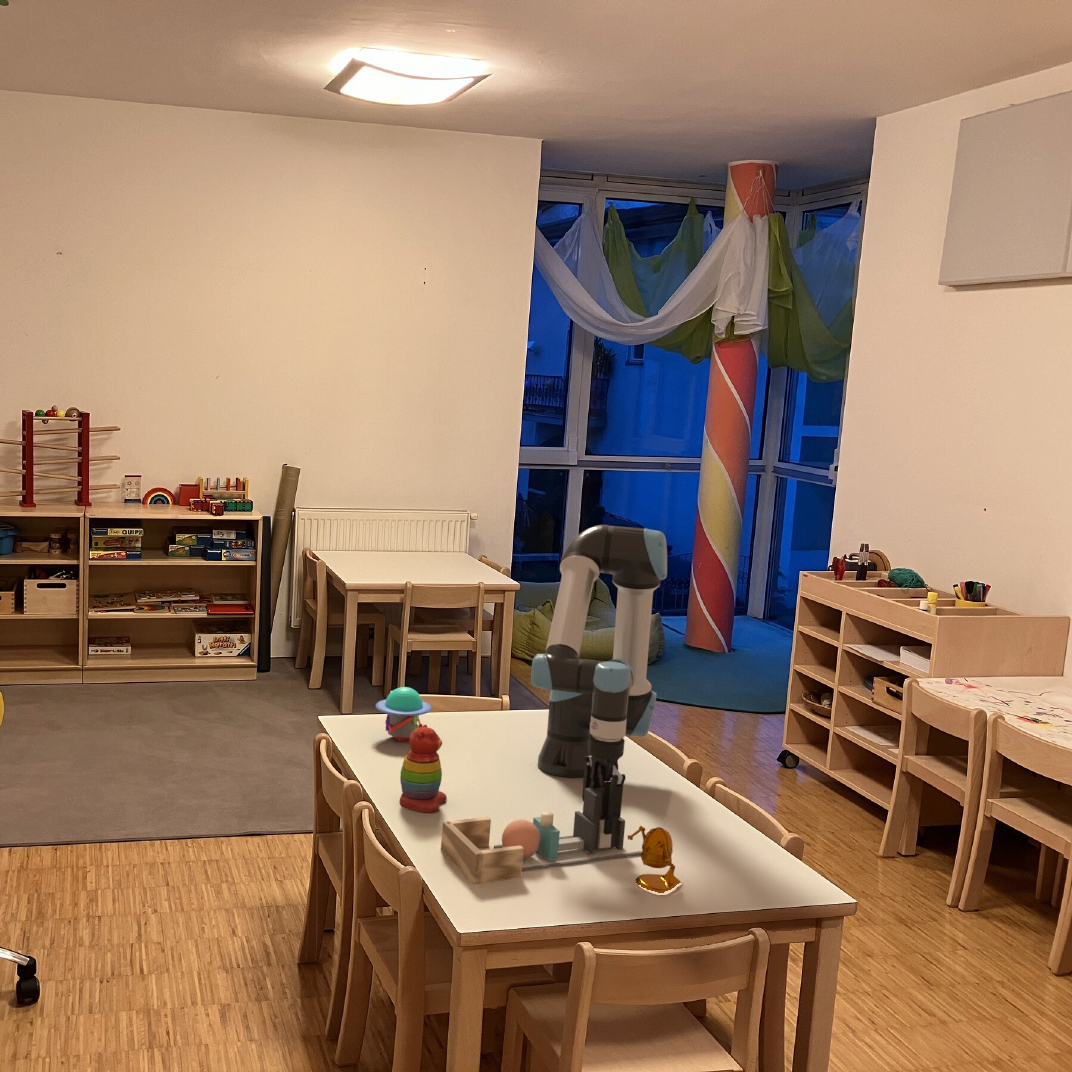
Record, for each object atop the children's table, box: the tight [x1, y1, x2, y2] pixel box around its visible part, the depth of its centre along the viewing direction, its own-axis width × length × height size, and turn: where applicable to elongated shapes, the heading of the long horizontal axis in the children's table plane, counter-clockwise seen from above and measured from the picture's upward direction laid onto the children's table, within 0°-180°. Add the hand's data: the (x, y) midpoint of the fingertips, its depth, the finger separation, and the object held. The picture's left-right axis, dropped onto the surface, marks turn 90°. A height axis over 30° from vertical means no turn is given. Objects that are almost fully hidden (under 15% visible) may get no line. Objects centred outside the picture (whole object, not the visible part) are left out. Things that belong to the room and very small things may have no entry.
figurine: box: [627, 825, 682, 893], centre depth 227 cm, size 8×11×12 cm
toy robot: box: [375, 686, 433, 742], centre depth 307 cm, size 15×15×14 cm
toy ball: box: [501, 819, 540, 860], centre depth 236 cm, size 8×8×8 cm
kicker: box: [532, 787, 626, 861], centre depth 242 cm, size 20×8×12 cm, turn 117°
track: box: [493, 835, 642, 873], centre depth 242 cm, size 29×12×1 cm, turn 117°
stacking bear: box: [399, 724, 448, 814], centre depth 261 cm, size 11×10×18 cm
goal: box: [440, 816, 524, 885], centre depth 232 cm, size 10×17×6 cm, turn 27°
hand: (597, 842), depth 245 cm, fingers closed on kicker, 4 cm apart
